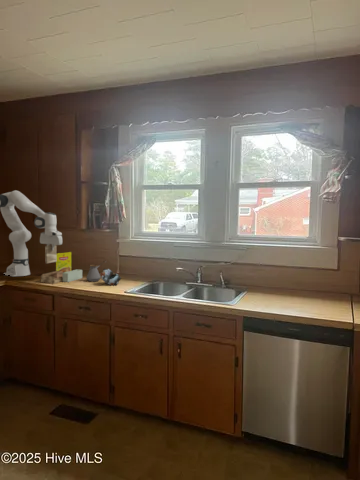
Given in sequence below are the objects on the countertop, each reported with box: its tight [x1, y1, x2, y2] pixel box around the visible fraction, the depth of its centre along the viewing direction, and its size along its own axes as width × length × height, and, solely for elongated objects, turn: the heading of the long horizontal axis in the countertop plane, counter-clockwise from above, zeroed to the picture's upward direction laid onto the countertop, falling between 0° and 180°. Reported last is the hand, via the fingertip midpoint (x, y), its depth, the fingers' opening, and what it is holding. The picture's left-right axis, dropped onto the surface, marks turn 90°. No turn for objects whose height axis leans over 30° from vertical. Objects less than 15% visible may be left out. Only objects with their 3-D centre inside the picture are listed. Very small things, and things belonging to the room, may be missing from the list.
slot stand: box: [62, 269, 83, 283], centre depth 286 cm, size 5×18×7 cm, turn 159°
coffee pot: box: [86, 260, 107, 283], centre depth 288 cm, size 21×12×15 cm, turn 152°
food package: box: [55, 251, 72, 273], centre depth 302 cm, size 15×1×20 cm, turn 143°
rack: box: [40, 270, 63, 284], centre depth 282 cm, size 13×18×6 cm
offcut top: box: [51, 270, 62, 278], centre depth 281 cm, size 5×10×4 cm, turn 175°
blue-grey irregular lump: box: [100, 268, 122, 287], centre depth 273 cm, size 15×12×14 cm
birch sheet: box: [44, 244, 58, 264], centre depth 281 cm, size 2×11×14 cm, turn 159°
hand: (50, 249), depth 281 cm, fingers closed on birch sheet, 2 cm apart
